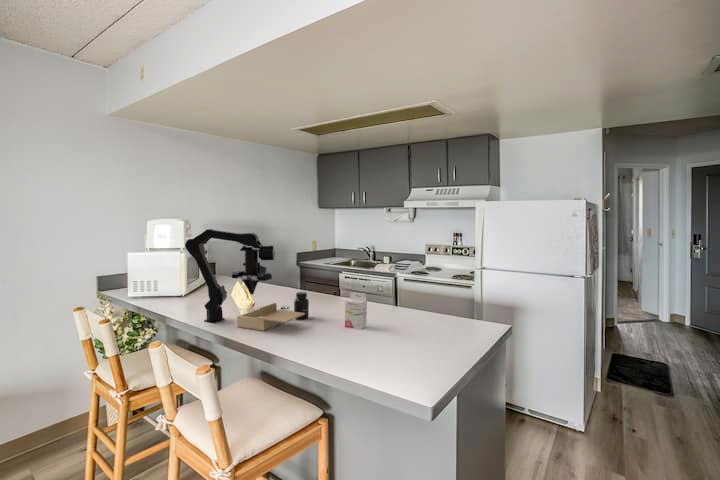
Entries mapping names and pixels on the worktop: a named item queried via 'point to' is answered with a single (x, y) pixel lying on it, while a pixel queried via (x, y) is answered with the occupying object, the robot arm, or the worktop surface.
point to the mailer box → (255, 321)
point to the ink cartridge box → (356, 311)
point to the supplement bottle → (301, 305)
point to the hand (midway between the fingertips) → (251, 294)
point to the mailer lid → (277, 314)
